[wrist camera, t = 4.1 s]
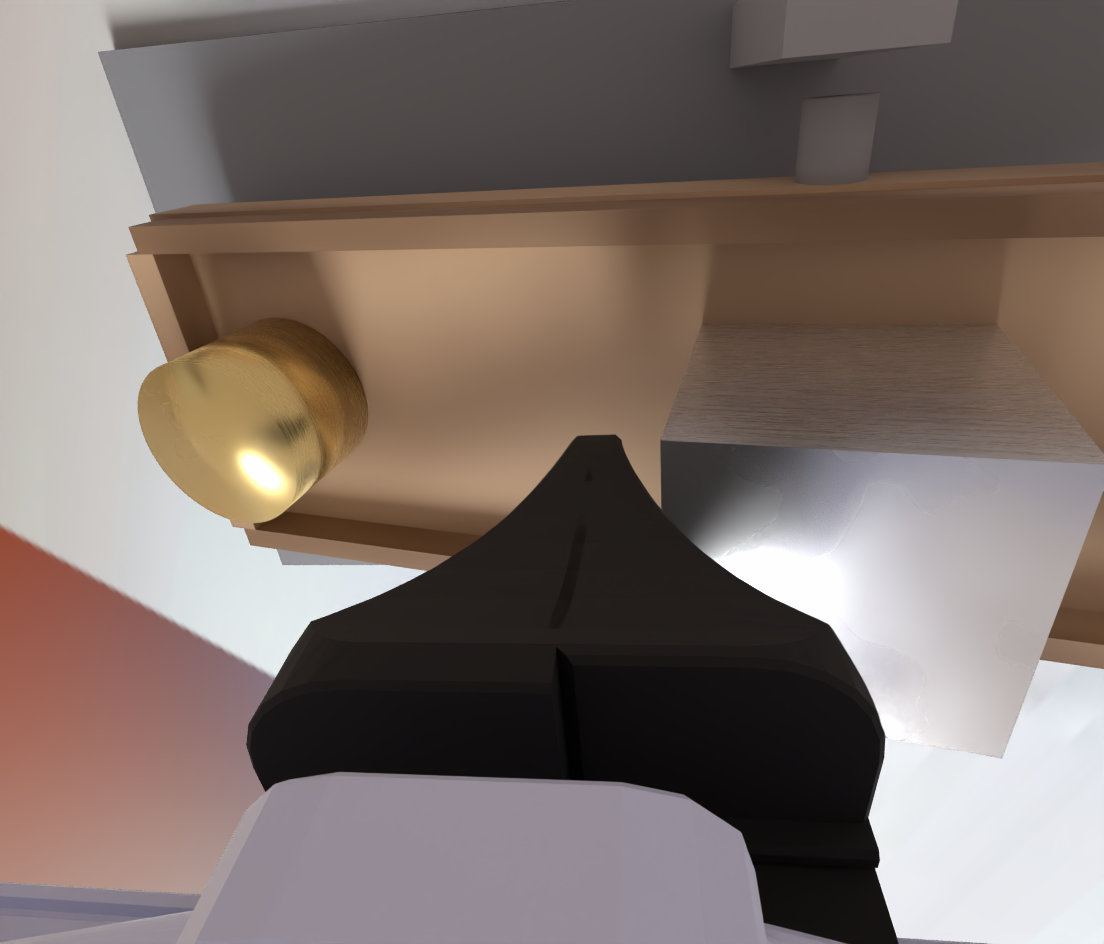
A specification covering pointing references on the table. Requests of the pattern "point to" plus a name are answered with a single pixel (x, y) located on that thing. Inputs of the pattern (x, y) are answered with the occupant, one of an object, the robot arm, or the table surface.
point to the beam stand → (604, 98)
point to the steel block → (891, 503)
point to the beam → (623, 316)
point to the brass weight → (254, 418)
